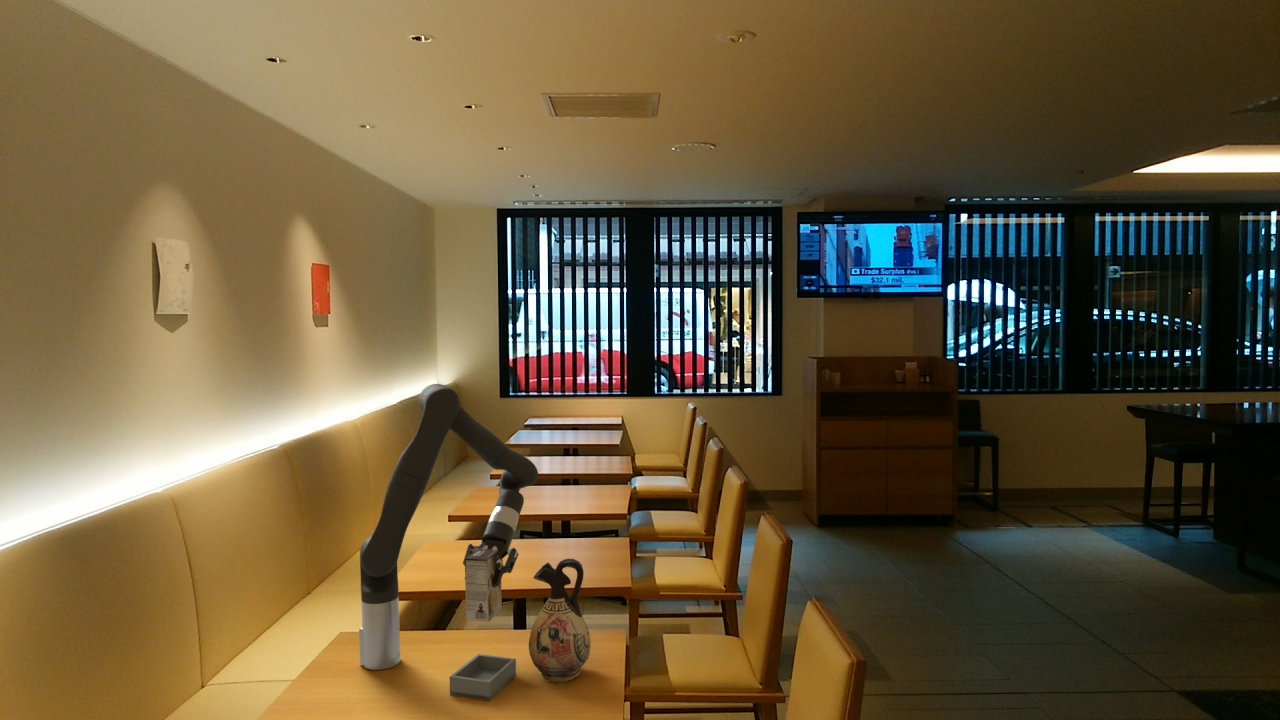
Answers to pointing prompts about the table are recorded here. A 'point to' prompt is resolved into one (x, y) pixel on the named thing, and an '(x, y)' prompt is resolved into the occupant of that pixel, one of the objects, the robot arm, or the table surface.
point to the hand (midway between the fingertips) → (480, 584)
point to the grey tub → (482, 677)
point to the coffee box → (482, 585)
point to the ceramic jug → (560, 627)
